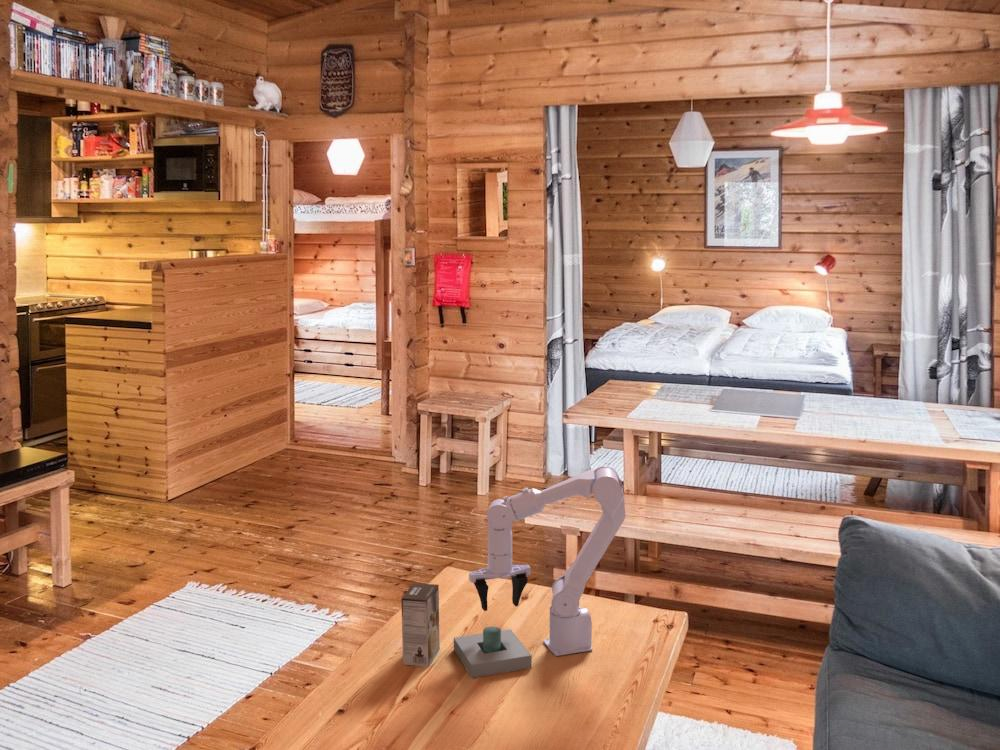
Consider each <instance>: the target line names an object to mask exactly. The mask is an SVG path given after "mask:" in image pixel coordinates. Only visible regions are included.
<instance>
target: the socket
mask: <svg viewBox="0 0 1000 750" xmlns="http://www.w3.org/2000/svg"><path fill="white" fill-rule="evenodd" d="M453 651H454V652H455V654H456V655H457V657H458V659H459V660H460V662H461V663H462V665H463V666H464V668H465V670H466V671H467V673H468V674H469V676H470V678H471V679H472V678H473V679H474V678H478V677H479V678H480V677H486V676H492V675H497V674H503V673H509V672H514V671H520V670H521V671H522V670H526V669H532V664H533V663H532V654H531V653H530V652H529V650H528V648H526V646H525V645H524V644H523V642H521V640H520V639H519V637H517V636H516V634H515V633H514V631H513V630H512V629H511V628H510V629H502V630H501V651H497V652H490V653H483V632H482V633H477V634H469V635H463V636H457V637H453Z"/></svg>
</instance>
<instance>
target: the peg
mask: <svg viewBox="0 0 1000 750" xmlns="http://www.w3.org/2000/svg"><path fill="white" fill-rule="evenodd" d="M501 631H502V630H501V628H499V627H498V626H487V627H484V628H483V629H482V633H483V653H490V652H497V651H501Z"/></svg>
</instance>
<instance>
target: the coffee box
mask: <svg viewBox="0 0 1000 750" xmlns="http://www.w3.org/2000/svg"><path fill="white" fill-rule="evenodd" d="M439 586H440V584H434V583H433V584H431V583H430V584H429V583H415V582H413V583H411V585H410V586H409V587H408V589H407V590H406V592H405V593H404V594H403V596H402V597H401V598H400V600H401V635H402V637H401V638H402V641H401V642H402V664H403V665H404V664H405V665H406V666H414V665H415V667H426V668H429V667H430V665H431V664H432V662H433V661H434V659H435V658H436V655H437V654H438V652H439V651H440V649H441V648H440V603H439V602H440V600H439V599H440V597H439V595H440V594H439V591H440V590H439ZM405 665H404V666H405Z"/></svg>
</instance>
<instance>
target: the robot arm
mask: <svg viewBox="0 0 1000 750" xmlns="http://www.w3.org/2000/svg"><path fill="white" fill-rule="evenodd" d="M521 491H522V492H518V493H516V494H514V495H511V496H508V495H505V496H503V498H497V499H495V500H493V501H492V502H491V503H490V504H489V506H488V509H487V512H486V521H487V523H488V524H487V530H488V531H487V567H484V568H480V569H477V570H474V571H469V572H468V580H469V582H470V583H472V584H474V587H475V589H476V591H477V593H478V597H479V601H480V606H481V609H482V610H483V611H484V612H487V611H488V592H489V585H488V584H487V580H488V581H489V580H493V579H494V580H495V579H502V580H505V579H510V577H511V583H512V592H511V593H512V594H511V595H512V596H511V597H512V598H511V600H512V604H513V606H515V607H519V605H520V604H519V603H520V599H521V596H522V594H523V591H524V589H525V587H526V586H527V584H528V581H529V579H528V577H527V576H531V574H532V573H531V572H532V571H531V569H532V568H531V566H530V565H529V564H513V531H512V522H518V521H520V520H523V519H527V518H528V517H531V516H534V515H537V514H540V513H542V512H543V510H544V509H545V506H546V505H549V504H552V503H555V502H558V501H560V500H564V499H568V498H571V497H573V496H577V495H579V496H582V497H584V498H586V499H591V498H592V497H591V494H592V495H593V498H594V499H595V500H596V501H597V503H598V504H599V505H600V507H601V511H602V514H601V515H600V517H599V519H598V520H597V522H596V524H595V526H594V527H593V529H592V531H591V532H590V534H589V536H588V537H587V539H586V541H585V542H584V543H583V545H582V547H581V549H580V551H579V552H578V553H577V555H576V556H575V559H574V561H573V562H572V564H570V567H569V568H567V569H566V570H565V571H564V573H563V574H562V575H561V576H560V577H558V578H557V579H555V581H554V582H553V584H552V587H551V592H552V599H551V605H550V607H549V638H546V639H545V638H544V639H543V641H542V642H543V643H544V644H545V645H546V647H547V648H548V649H549V651H550V652H551V653H552V654H553V655H554V656H556V657H560V656H565V655H566V656H567V655H570V654H577V653H584V652H589V651H593V647H592V637H593V636H592V629H593V628H592V625H593V623H592V617H591V614H590V611H589V609H588V608H586V607H581V606H580V599H581V597H582V595H583V594H584V591H585V588H586V586H587V582H588V580H589V579H590V577H591V575H592V574H593V572H594V570H595V569H596V567H597V566H598V564H599V563H600V560H601V559H602V558H603V556H604V554H605V552H606V551H607V549H608V548H609V546H610V544H611V543H612V541H613V540H614V538H615V536H616V535H617V533H618V531H619V529H620V528H621V526H622V524H623V523H624V522H625V519H626V505H625V492H624V489H623V483H622V481H621V479H620V476H619V473H618V472H617V471H616V470H615V469H614V468H613V467H611V466H608V465H604V466H598V467H597V468H596V469H589V470H586V471H584V472H582V473H579V474H577V475H574V476H572V477H570V478H567V479H566V480H563V481H561V482H559V483H556V484H553V485H551V486H549V487H547V488H545V489H542V490H539V489H537V488H534V487H532V488H530V489H529V488H528V487H525V488H523V489H522V490H521Z"/></svg>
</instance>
